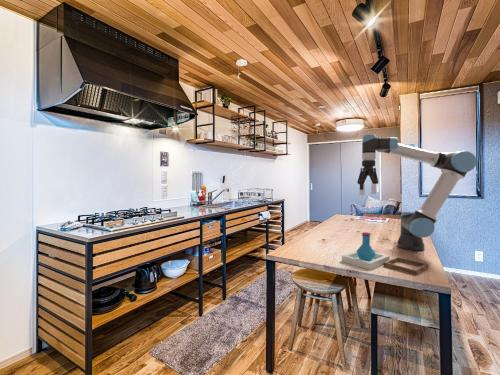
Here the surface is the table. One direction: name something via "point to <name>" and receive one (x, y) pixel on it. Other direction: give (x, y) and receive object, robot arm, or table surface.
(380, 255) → the tray
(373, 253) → the teal vase
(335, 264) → the table surface
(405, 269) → the frame
